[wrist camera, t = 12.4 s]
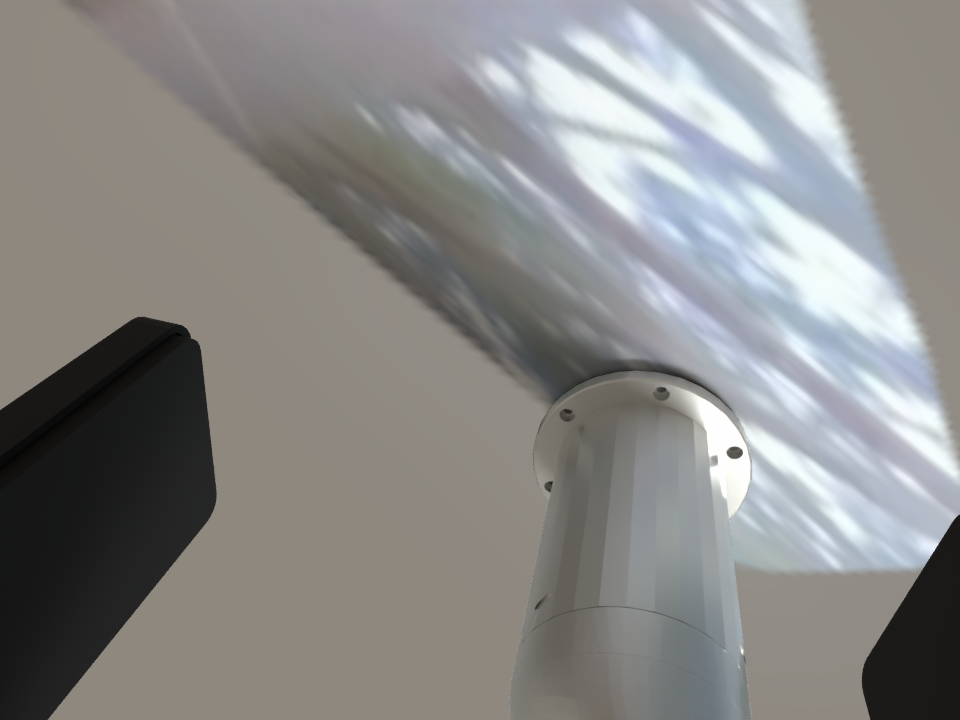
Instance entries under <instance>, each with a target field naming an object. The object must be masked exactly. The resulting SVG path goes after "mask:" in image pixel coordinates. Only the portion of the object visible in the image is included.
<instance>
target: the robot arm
mask: <svg viewBox="0 0 960 720" xmlns="http://www.w3.org/2000/svg"><path fill="white" fill-rule="evenodd" d="M659 387H664V388H663V389H660V388H659ZM568 409H569V410H568ZM533 465H534V472H535V476H536V479H537V483H538V485H539V487H540V489H541V491H542V493H543V495H544V497H545V499H546V500H547V501H548V508H547V512H546V517H545V522H544V527H543V532H542V536H541V541H540V546H539V550H538V556H537V560H536V565H535V569H534V574H533V579H532V583H531V588H530V593H529V598H528V602H527V607H526V612H525V617H524V622H523V626H522V631H521V636H520V641H519V645H518V650H517V655H516V661H515V665H514V671H513V675H512V680H511V687H510V698H509V708H510V720H752V715H751V706H750V698H749V690H748V682H747V673H746V661H745V653H744V644H743V636H742V628H741V619H740V611H739V602H738V594H737V586H736V577H735V568H734V559H733V550H732V541H731V532H730V524H729V520H730V519H731V518H732V517H733V516H734V515H735V513H736V512H737V511H738V510H739V509H740V507H741V505H742V503H743V502H744V500H745V498H746V496H747V494H748V490H749V487H750V483H751V480H752V459H751V453H750V447H749V443H748V441H747V438H746V435H745V432H744V430H743V427H742V426H741V424H740V423H739V421H738V420H737V418H736V417H735V415H734V414H733V412H732V411H731V410H730V409H729V408H728V407H727V406H726V405H725V404H724V403H723V402H722V401H721V400H720V399H719V398H717V397H716V396H714V395H713V394H711V393H710V392H708V391H707V390H705V389H704V388H702V387H701V386H698V385H696V384H694V383H691V382H689V381H687V380H685V379H682V378H679V377H675V376H671V375H668V374H664V373H660V372H648V371H624V372H614V373H610V374H606V375H602V376H598V377H595V378H592V379H590V380H588V381H585V382H583V383H581V384H579V385H577V386H575V387H574V388H572V389H571V390H569V391H568V392H566V393H565V394H564V395H562V396H561V397H560V398H559V399H558V400H557V401H556V402H555V403H554V404H553V405H552V406H551V407H550V409H549V410H548V412H547V414H546V415H545V417H544V419H543V420H542V422H541V424H540V428H539V430H538V433H537V436H536V441H535V446H534V452H533ZM215 503H216V484H215V474H214V465H213V458H212V447H211V439H210V429H209V420H208V412H207V403H206V393H205V384H204V375H203V365H202V356H201V349H200V345H199V344H198V342H197V341H196V340H194V339H191V336H190V333H189V332H188V330H187V329H186V328H185V327H184V326H182V325H178V324H173V323H169V322H165V321H160V320H156V319H151V318H147V317H137V318H135V319H133V320H131V321H129V322H128V323H126V324H125V325H123V326H122V327H121V328H119V329H118V330H116V331H115V332H113V333H112V334H110V335H109V336H107V337H106V338H105V339H103V340H102V341H100V342H99V343H97V344H96V345H94V346H93V347H91V348H90V349H89V350H87V351H86V352H84V353H83V354H81V355H80V356H78V357H77V358H76V359H74V360H73V361H71V362H70V363H68V364H67V365H65V366H64V367H62V368H61V369H59V370H58V371H57V372H55V373H54V374H52V375H51V376H49V377H48V378H46V379H45V380H43V381H42V382H40V383H39V384H38V385H36V386H35V387H33V388H32V389H30V390H29V391H28V392H26V393H24V394H23V395H22V396H20V397H19V398H17V399H16V400H14V401H13V402H11V403H10V404H8V405H7V406H6V407H4V408H3V409H1V410H0V720H48V718H49V717H50V716H51V715H52V714H53V712H54V711H55V710H56V709H57V707H58V706H59V705H60V704H61V702H62V701H63V700H64V699H65V697H66V696H67V695H68V693H69V692H70V691H71V690H72V688H73V687H74V686H75V685H76V684H77V683H78V681H79V680H80V679H81V678H82V676H83V675H84V674H85V672H86V671H87V670H88V669H89V668H90V666H91V665H92V663H94V661H95V660H96V659H97V658H98V656H99V655H100V654H101V653H102V651H103V650H104V649H105V648H106V646H107V645H108V644H109V643H110V641H111V640H112V639H113V638H114V637H115V635H116V634H117V633H118V632H119V630H120V629H121V628H122V627H123V625H124V624H125V623H126V622H127V620H128V619H129V618H130V617H131V615H132V614H133V613H134V612H135V610H136V609H137V608H138V607H139V606H140V604H141V603H142V602H143V601H144V599H145V598H146V597H147V596H148V594H149V593H150V592H151V591H152V589H153V588H154V587H155V586H156V584H157V583H158V582H159V581H160V580H161V578H162V577H163V576H164V574H165V573H166V572H167V571H168V570H169V568H170V567H171V566H172V565H173V563H174V562H175V561H176V560H177V558H178V557H179V556H180V555H181V553H182V552H183V551H184V549H185V548H186V547H187V546H188V545H189V543H190V542H191V541H192V540H193V539H194V537H195V536H196V535H197V534H198V532H199V531H200V530H201V529H202V527H203V526H204V525H205V524H206V522H207V521H208V519H209V518H210V516H211V514H212V512H213V510H214V507H215ZM862 688H863V693H864V697H865V701H866V705H867V708H868V712H869V716H870V720H960V515H958V516H957V517H956V518H955V520H954V521H953V522H952V524H951V525H950V527H949V529H948V530H947V532H946V533H945V535H944V537H943V538H942V540H941V541H940V543H939V545H938V546H937V548H936V549H935V551H934V552H933V554H932V556H931V557H930V559H929V560H928V562H927V564H926V565H925V567H924V568H923V570H922V572H921V573H920V575H919V576H918V578H917V579H916V581H915V583H914V584H913V586H912V588H911V589H910V591H909V592H908V594H907V595H906V597H905V599H904V600H903V602H902V603H901V605H900V607H899V608H898V610H897V611H896V613H895V614H894V616H893V618H892V619H891V621H890V622H889V624H888V626H887V627H886V629H885V631H884V632H883V634H882V635H881V637H880V638H879V640H878V642H877V643H876V645H875V646H874V648H873V649H872V651H871V653H870V654H869V656H868V657H867V659H866V662H865V664H864V668H863V673H862Z"/></svg>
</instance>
